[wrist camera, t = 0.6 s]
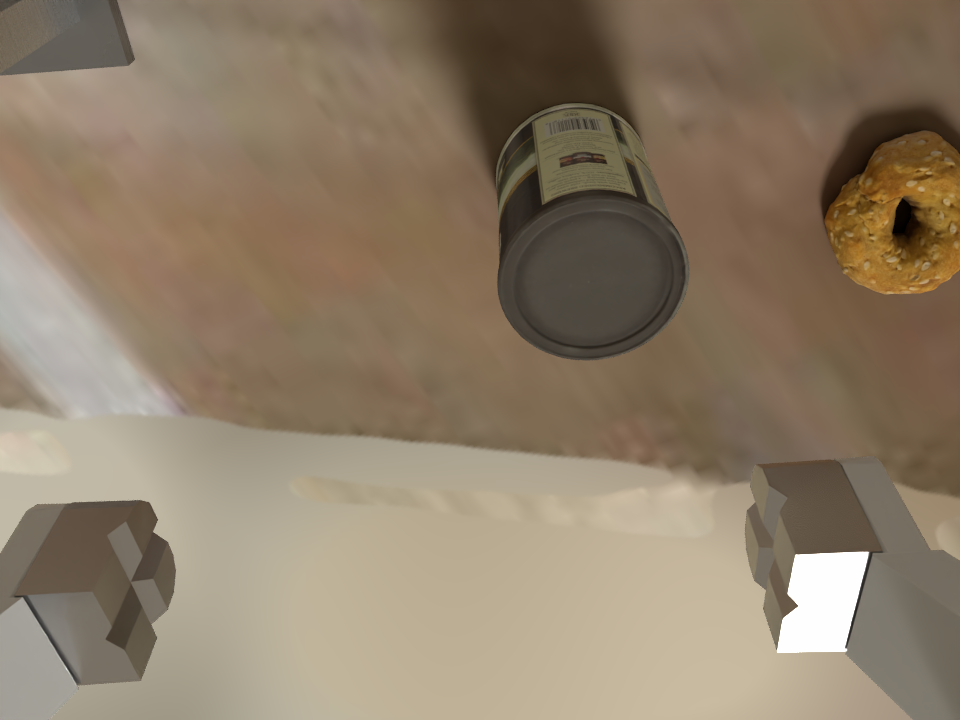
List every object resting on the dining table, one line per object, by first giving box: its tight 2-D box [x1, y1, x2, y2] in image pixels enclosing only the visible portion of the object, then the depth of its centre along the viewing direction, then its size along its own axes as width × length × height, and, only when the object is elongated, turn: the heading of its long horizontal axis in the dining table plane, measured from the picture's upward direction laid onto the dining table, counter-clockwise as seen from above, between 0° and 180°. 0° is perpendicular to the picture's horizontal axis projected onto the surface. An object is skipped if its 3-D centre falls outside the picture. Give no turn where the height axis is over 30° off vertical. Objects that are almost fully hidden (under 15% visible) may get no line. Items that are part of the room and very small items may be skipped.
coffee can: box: [496, 103, 689, 360], centre depth 51 cm, size 10×10×14 cm
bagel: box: [825, 130, 960, 294], centre depth 56 cm, size 10×11×5 cm
